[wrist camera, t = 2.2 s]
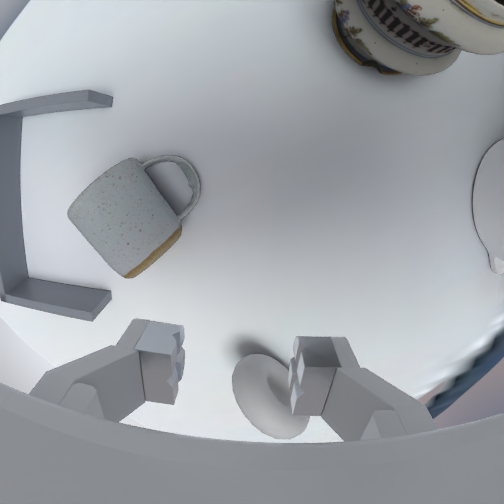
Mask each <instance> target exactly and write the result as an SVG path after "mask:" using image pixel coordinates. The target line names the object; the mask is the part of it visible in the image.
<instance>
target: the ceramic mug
mask: <svg viewBox="0 0 504 504" xmlns="http://www.w3.org/2000/svg"><path fill="white" fill-rule="evenodd" d="M164 161H171V162H175V163H177V164H178V165H179V166H180V167H181V169H182V170H183V172H184V173H185V175H186V177H187V179H188V181H189V186H190V187H191V188H192V189H193V196H192V199H191V202H190V203H189V204H188V206H187V208H186V209H185V210H184V211H183V212H182V213H180V214H179V215H176V214H175V212H174V211H173V210H172V208H171V207H170V206H169V204H168V203H167V202H166V200H165V198H163V197H162V195H161V194H160V192H159V191H158V189H157V188H156V186H155V185H154V183H153V182H152V180H151V179H150V178H149V176H148V174H147V173H146V172H145V169H146V168H147V167H149V166H151V165H153V164H156V163H159V162H164ZM199 194H200V181H199V178H198V176H197V173H196V171H195V170H194V168H193V167H192V165H191V164H190V163H189V162H188V161H186V160H185V159H183V158H181V157H179V156H174V155H162V156H158V157H154V158H152V159H150V160H147V161H146V162H144V163H142V164H141V163H139V162H138V161H137V159H135V158H128V159H126V160H123V161H122V162H120V163H118V164H116V165H115V166H114V167H112V168H110V169H109V170H108V171H106V172H105V173H104V174H102V175H101V176H100V177H98V178H97V179H96V180H95V181H94V182H93V183H91V184H90V185H89V186H88V187H87V188H86V189H85V190H84V191H83V192H82V193H81V194H80V195H79V196H78V197H77V199H76V200H75V201H74V202H73V203H72V205H71V206H70V207H69V209H68V214H67V215H68V218H69V219H70V220H71V222H72V223H73V224H74V225H75V226H76V227H77V229H78V230H79V231H80V232H81V233H82V235H83V236H84V237H85V238H86V240H87V241H88V242H89V243H90V244H91V245H92V246H93V247H94V249H95V250H96V251H97V252H98V253H99V254H100V255H101V257H102V258H103V259H104V260H105V261H106V262H107V263H108V265H109V266H110V267H111V268H112V269H113V270H115V271H116V272H117V273H118V274H120V275H121V276H122V277H124V278H134V277H136V276H137V275H139V274H140V273H141V272H143V271H144V270H146V269H147V268H148V267H149V266H150V265H152V264H153V263H154V262H155V261H156V260H157V259H158V258H160V257H161V256H162V255H163V254H164V253H165V252H166V251H167V250H168V249H169V248H170V247H171V246H172V245H173V244H174V243H175V242H176V241H177V240H178V239H179V237H180V236H181V232H182V226H181V224H180V222H181V219H182V218H184V217H185V216H186V215H187V214H189V212H190V211H191V210H192V209H193V208H194V206H195V204H196V203H197V201H198V198H199Z"/></svg>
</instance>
